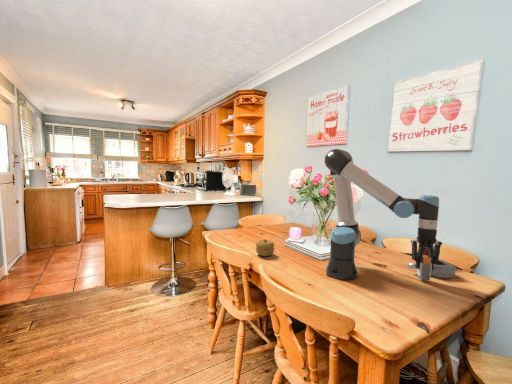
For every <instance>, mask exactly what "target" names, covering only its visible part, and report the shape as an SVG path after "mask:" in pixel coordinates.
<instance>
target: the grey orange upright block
mask: <svg viewBox="0 0 512 384" xmlns="http://www.w3.org/2000/svg"><path fill="white" fill-rule="evenodd" d="M421 263H422V275H421V276H419V275H417V278H418V279H419V280H421V281H430V278H431V277H430V268H431V257H429V256H427V255H423V256H422V259H421Z"/></svg>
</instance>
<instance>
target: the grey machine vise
mask: <svg viewBox="0 0 512 384" xmlns="http://www.w3.org/2000/svg"><path fill="white" fill-rule="evenodd" d="M407 268H408V269H414V270H417V268H416V263H407ZM456 268H457V267H456V266H455V265H453V264H451V263H448V262H447V261H445V260H443V259H439V260H438V262H435V264H433V269H431V276H432V278H434V279H435V278H436V279H439V278H440V279H441V280H452V279H453V275H454V276H455V275H456V270H457V269H456Z"/></svg>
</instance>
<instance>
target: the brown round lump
mask: <svg viewBox="0 0 512 384" xmlns="http://www.w3.org/2000/svg"><path fill="white" fill-rule="evenodd" d="M255 246H256V247H255V251H256V253H257V255H259V256H261V257H270V256H271V255H273V254H274V252H275V248H274V247H275V243H274V242H273V241H272V240H270V239H266V238H265V239H264V238H263V239H260V240H258V241H257V242H256V243H255Z"/></svg>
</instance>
